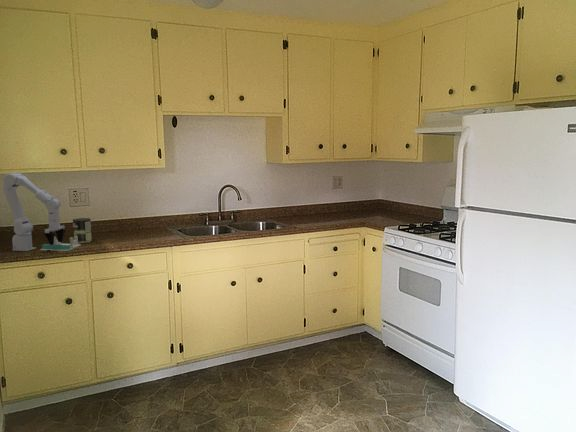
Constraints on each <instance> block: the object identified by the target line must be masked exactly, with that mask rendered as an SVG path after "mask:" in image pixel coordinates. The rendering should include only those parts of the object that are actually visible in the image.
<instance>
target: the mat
mask: <svg viewBox="0 0 576 432" xmlns="http://www.w3.org/2000/svg"><path fill="white" fill-rule="evenodd" d="M47 250H50V251H51V252H52V251H53V252H54V251H55V252H68V251H72V250H74V248H70V249H69V250H59V249H42V248H40V249H39V251H47Z"/></svg>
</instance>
